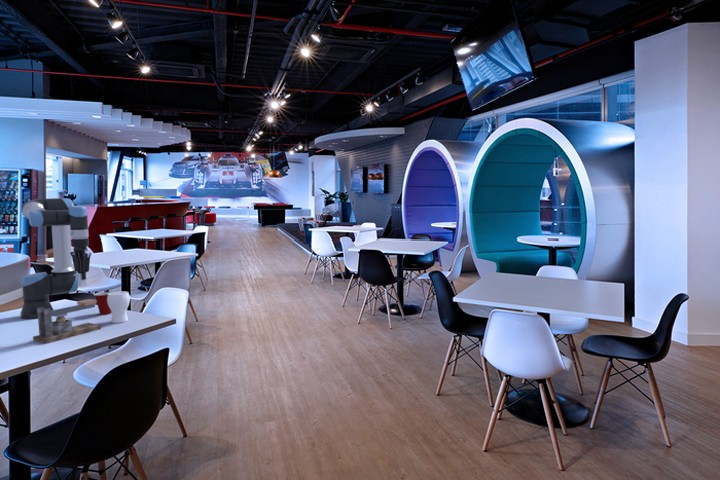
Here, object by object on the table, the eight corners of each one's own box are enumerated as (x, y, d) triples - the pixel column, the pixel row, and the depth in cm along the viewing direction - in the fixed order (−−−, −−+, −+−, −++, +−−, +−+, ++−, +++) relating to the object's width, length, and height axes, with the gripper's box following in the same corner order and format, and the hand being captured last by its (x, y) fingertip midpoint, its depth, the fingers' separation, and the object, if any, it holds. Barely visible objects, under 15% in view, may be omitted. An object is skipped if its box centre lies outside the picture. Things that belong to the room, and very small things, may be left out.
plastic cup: (111, 310, 273) (110, 289, 272) (119, 312, 266) (118, 292, 265) (91, 313, 265) (90, 292, 264) (99, 316, 258) (98, 295, 257)
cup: (104, 322, 247) (102, 294, 246) (122, 317, 257) (120, 290, 255) (117, 324, 242) (115, 296, 241) (135, 319, 252) (133, 292, 250)
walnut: (54, 324, 222) (53, 316, 221) (62, 322, 225) (62, 314, 225) (59, 325, 220) (58, 317, 219) (68, 323, 223) (67, 315, 223)
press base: (45, 343, 212) (43, 311, 210) (33, 340, 216) (30, 308, 215) (100, 329, 235) (98, 299, 233) (88, 326, 239) (86, 297, 238)
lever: (48, 320, 214) (48, 310, 214) (41, 318, 217) (40, 308, 217) (97, 309, 235) (96, 300, 234) (89, 308, 237) (89, 299, 237)
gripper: (63, 238, 228) (67, 286, 231) (80, 239, 222) (83, 288, 225) (79, 236, 235) (82, 283, 237) (95, 238, 229) (98, 285, 231)
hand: (82, 286), depth 231 cm, fingers closed
